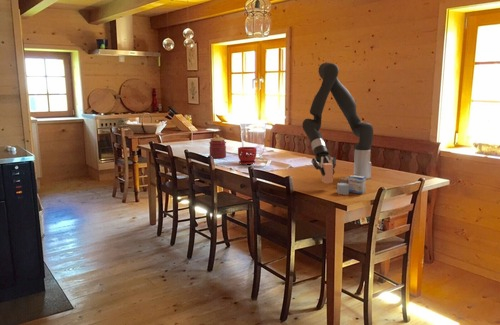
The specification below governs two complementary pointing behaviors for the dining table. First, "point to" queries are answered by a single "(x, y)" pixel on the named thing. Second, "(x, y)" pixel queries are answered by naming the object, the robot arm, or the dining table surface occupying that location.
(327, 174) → the terracotta block
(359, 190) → the medicine box
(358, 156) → the robot arm
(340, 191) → the slate blue cube
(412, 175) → the dining table surface
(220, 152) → the canister
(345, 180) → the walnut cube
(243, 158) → the plant pot
